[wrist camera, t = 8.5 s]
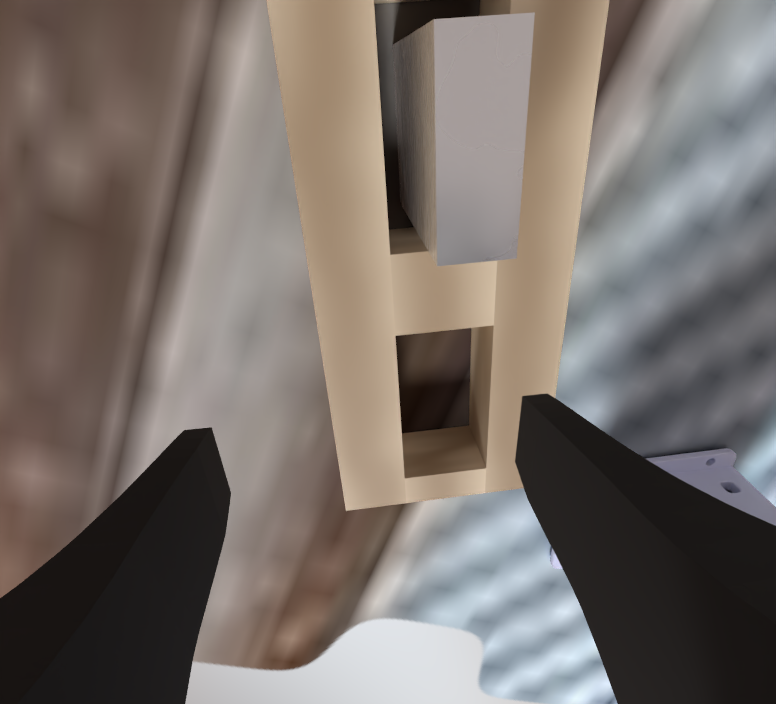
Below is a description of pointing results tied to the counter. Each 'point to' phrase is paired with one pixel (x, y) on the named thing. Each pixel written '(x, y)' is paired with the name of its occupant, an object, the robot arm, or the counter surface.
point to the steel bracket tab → (464, 133)
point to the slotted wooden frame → (412, 259)
